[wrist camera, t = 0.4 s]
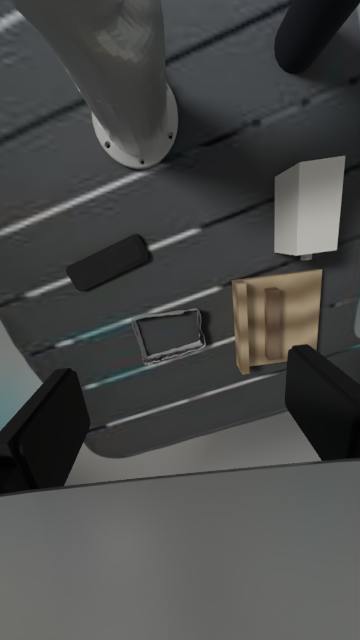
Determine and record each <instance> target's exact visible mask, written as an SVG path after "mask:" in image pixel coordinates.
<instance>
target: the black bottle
mask: <svg viewBox="0 0 360 640" xmlns="http://www.w3.org/2000/svg"><path fill="white" fill-rule="evenodd" d="M359 3H360V0H293V2H292V4H291V5H290V7H289V9H288V11H287V13H286V15H285V17H284V19H283V21H282V23H281V25H280V27H279V29H278V32H277V35H276V38H275V47H274V50H275V56H276V59H277V62H278V64H279V66H280V67H281V68H282V69H283V70H284V71H287V72H289V73H299V72H301V71H303V70H305V69H306V68H307V67H308V66H310V65H311V64H312V62H313V61H314V60H315V59H316V57H317V56H318V55H319V54H320V52H321V51H322V50H323V48H324V47H325V46H326V45H327V43H328V42H329V41H330V40H331V38H332V37H333V36H334V35H335V33H336V32H337V31H338V30H339V28H340V27H341V26H342V25H343V23H344V22H345V21H346V20H347V18H348V17H349V16H350V15H351V13H352V12H353V11H354V10H355V8H356V7H357V6H358V5H359Z"/></svg>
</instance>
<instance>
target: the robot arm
mask: <svg viewBox="0 0 360 640" xmlns="http://www.w3.org/2000/svg"><path fill="white" fill-rule="evenodd" d="M8 1H9V2H10V3H11V4H12V5H13V6H14V7H15V8H16V9H17V10H18V11H19V12H20V13H21V14H22V15H23V16H24V17H25V18H26V19H27V20H28V21H29V22H30V23H31V24H32V25H33V26H34V27H35V28H36V29H37V30H38V31H39V33H40V34H41V35H42V36H43V37H44V39H45V40H46V41H47V43H48V44H49V45H50V47H51V48H52V50H53V51H54V53H55V54H56V56H57V57H58V59H59V60H60V62H61V63H62V65H63V66H64V68H65V69H66V71H67V73H68V74H69V76H70V78H71V79H72V81H73V82H74V84H75V85H76V87H77V89H78V90H79V92H80V93H81V95H82V96H83V98H84V100H85V101H86V103H87V104H88V106H89V107H90V109H91V111H92V121H93V126H94V130H95V133H96V136H97V138H98V140H99V142H100V144H101V145H102V147H103V148H104V150H105V151H106V152H107V153H108V155H109V156H110V157H111V158H113V159H114V160H115V161H116V162H118V163H119V164H121V165H123V166H125V167H128V168H131V169H146V168H149V167H153V166H154V165H156V164H158V163H160V162H161V161H162V160H163V159H164V158H165V157H166V156H167V154H168V153H169V152H170V150H171V148H172V146H173V144H174V142H175V139H176V135H177V129H178V109H177V104H176V100H175V97H174V94H173V92H172V90H171V88H170V86H169V85H168V83H167V82H166V68H165V44H164V21H163V12H162V6H161V1H160V0H8ZM169 136H171V137H172V139H169ZM108 145H110V148H107V146H108ZM142 161H144V164H141V162H142ZM285 404H286V407H287V409H288V411H289V412H290V414H291V415H292V417H293V418H294V420H295V421H296V423H297V424H298V426H299V427H300V429H301V430H302V432H303V433H304V435H305V436H306V437H307V439H308V440H309V442H310V443H311V445H312V446H313V448H314V449H315V451H316V452H317V454H318V455H319V457H320V458H321V460H322V461H314V462H303V463H292V464H281V465H270V466H260V467H248V468H239V469H228V470H217V471H207V472H196V473H186V474H176V475H167V476H156V477H147V478H136V479H127V480H117V481H108V482H98V483H89V484H79V485H70V486H64V484H65V482H66V480H67V478H68V475H69V473H70V471H71V469H72V466H73V464H74V462H75V460H76V457H77V455H78V453H79V450H80V448H81V446H82V444H83V441H84V439H85V437H86V435H87V432H88V430H89V427H90V418H89V415H88V411H87V408H86V404H85V401H84V397H83V394H82V390H81V387H80V383H79V380H78V376H77V373H76V372H75V371H72V369H71V368H66V369H57V370H55V371H54V372H53V373H52V374H51V375H50V376H49V378H48V379H47V380H46V381H45V382H44V383H43V384H42V385H41V386H40V388H39V389H38V390H37V391H36V392H35V393H34V394H33V395H32V397H31V398H30V399H29V400H28V401H27V402H26V403H25V404H24V405H23V407H22V408H21V409H20V410H19V411H18V412H17V413H16V414H15V416H14V417H13V418H12V419H11V420H10V421H9V422H8V423H7V424H6V426H5V427H4V428H3V429H2V430H1V431H0V640H360V385H359V384H358V383H357V382H356V381H354V380H353V379H352V378H350V377H349V376H348V375H347V374H345V373H344V372H343V371H342V370H340V369H339V368H338V367H336V366H335V365H334V364H333V363H331V362H330V361H329V360H327V359H326V358H325V357H324V356H322V355H321V354H320V353H319V352H317V351H316V350H315V349H313V348H312V347H311V346H310V345H308V344H303V345H293V346H292V349H289V350H288V358H287V374H286V390H285Z"/></svg>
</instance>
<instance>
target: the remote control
mask: <svg viewBox="0 0 360 640" xmlns="http://www.w3.org/2000/svg"><path fill="white" fill-rule="evenodd" d="M149 257H150V255H149V252H148V250H147V248H146V246H145V244H144V242H143V240H142V237H141V236H140V235H138V234H134V235H132V236H130V237H128V238H126V239H124V240H122V241H120V242H118V243H116V244H113V245H111V246H109V247H107V248H105V249H103V250H101V251H99V252H97V253H95V254H93V255H91V256H89V257H87V258H85V259H83V260H81V261H79V262H77V263H75V264H73V265H70V266H68V267H67V269H66V272H67V274H68V276H69V278H70V279H71V281H72V282H73V284H74V286H75V287H76V289H77V290H79V291H84V290H86V289H88V288H90V287H92V286H95V285H97V284H99V283H101V282H103V281H105V280H107V279H109V278H111V277H114V276H116V275H118V274H120V273H122V272H124V271H126V270H128V269H131V268H133V267H135V266H137V265H139V264H141V263H143V262H145V261H147V260H148V259H149Z"/></svg>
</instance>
